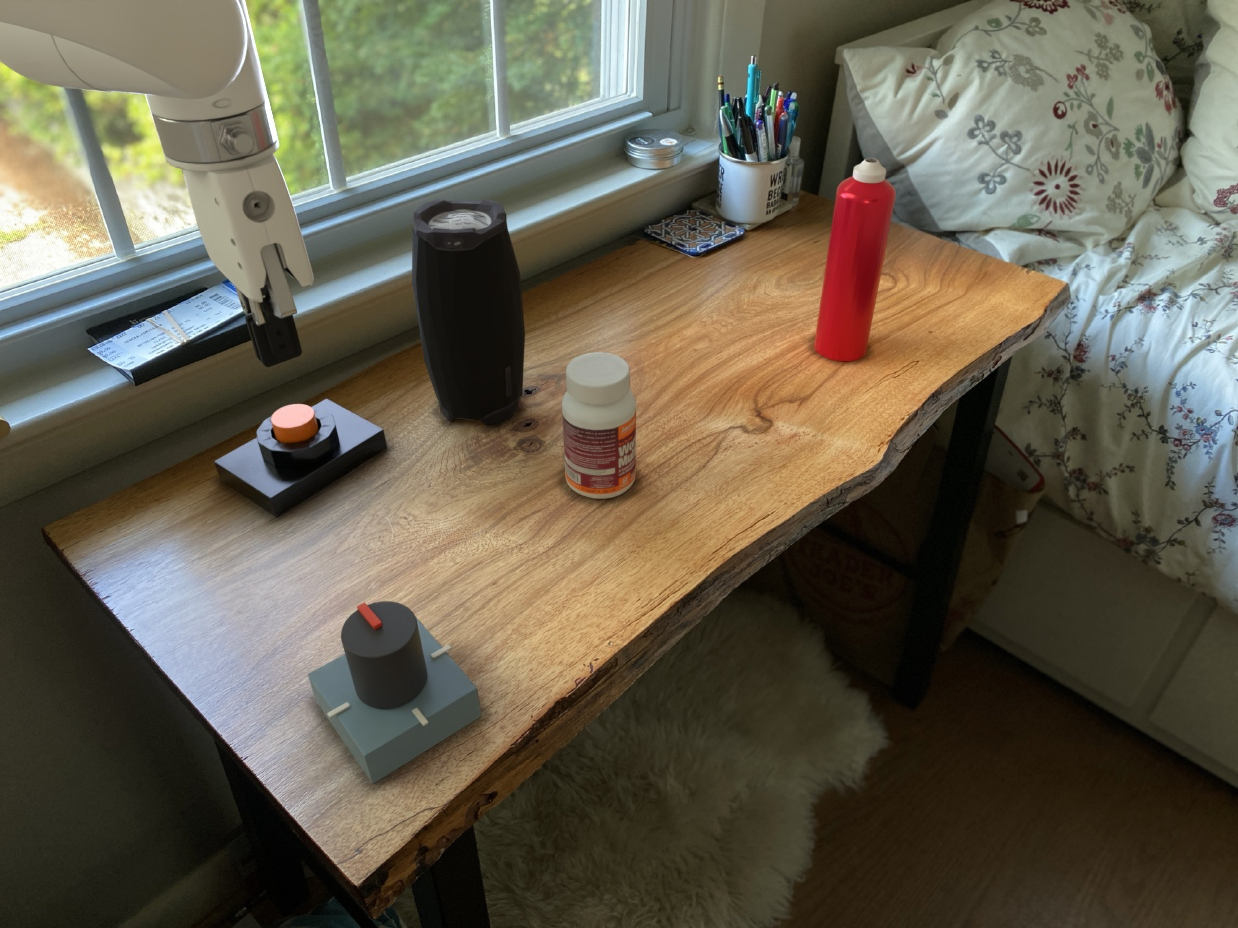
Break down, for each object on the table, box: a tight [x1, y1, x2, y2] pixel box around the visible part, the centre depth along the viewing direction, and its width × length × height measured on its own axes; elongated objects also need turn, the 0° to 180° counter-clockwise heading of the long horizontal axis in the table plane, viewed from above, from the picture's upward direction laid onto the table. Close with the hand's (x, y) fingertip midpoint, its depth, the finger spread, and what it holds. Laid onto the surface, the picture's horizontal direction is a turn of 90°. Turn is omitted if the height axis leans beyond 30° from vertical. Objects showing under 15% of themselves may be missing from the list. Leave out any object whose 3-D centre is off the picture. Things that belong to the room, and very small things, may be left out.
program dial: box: [340, 600, 427, 709], centre depth 59 cm, size 5×5×5 cm
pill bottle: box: [561, 351, 637, 500], centre depth 78 cm, size 6×6×11 cm
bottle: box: [813, 157, 897, 362], centre depth 92 cm, size 6×6×20 cm
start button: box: [270, 403, 318, 443], centre depth 80 cm, size 4×4×2 cm
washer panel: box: [307, 615, 482, 784], centre depth 61 cm, size 9×9×3 cm
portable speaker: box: [411, 198, 526, 427], centre depth 84 cm, size 9×9×20 cm
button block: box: [213, 398, 388, 519], centre depth 82 cm, size 12×8×4 cm, turn 142°
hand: (280, 357), depth 75 cm, fingers closed
